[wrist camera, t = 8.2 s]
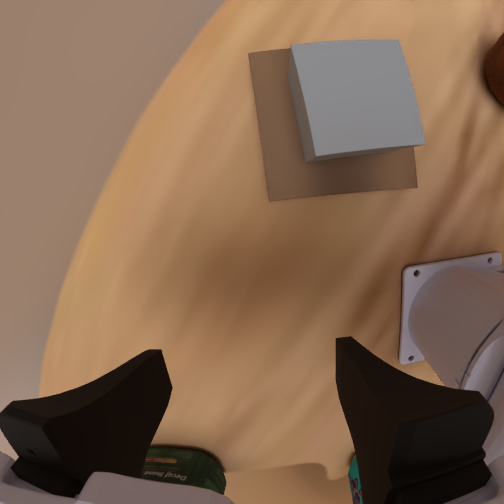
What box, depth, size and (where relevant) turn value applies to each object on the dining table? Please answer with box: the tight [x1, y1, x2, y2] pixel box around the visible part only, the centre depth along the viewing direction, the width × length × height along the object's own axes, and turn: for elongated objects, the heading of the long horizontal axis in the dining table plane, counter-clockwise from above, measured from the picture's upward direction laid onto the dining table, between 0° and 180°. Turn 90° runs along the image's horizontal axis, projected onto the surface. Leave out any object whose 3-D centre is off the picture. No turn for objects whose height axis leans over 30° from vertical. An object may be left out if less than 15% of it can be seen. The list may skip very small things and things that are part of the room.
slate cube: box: [288, 40, 426, 163], centre depth 13 cm, size 5×5×5 cm
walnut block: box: [248, 48, 418, 201], centre depth 17 cm, size 9×9×3 cm
